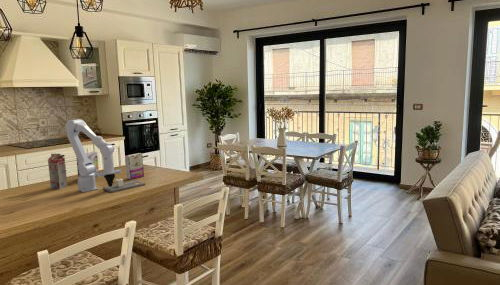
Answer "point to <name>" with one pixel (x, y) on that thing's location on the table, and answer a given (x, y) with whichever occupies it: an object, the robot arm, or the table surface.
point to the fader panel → (126, 186)
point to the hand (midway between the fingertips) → (110, 186)
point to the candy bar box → (134, 166)
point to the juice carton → (57, 171)
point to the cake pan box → (93, 158)
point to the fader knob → (119, 182)
